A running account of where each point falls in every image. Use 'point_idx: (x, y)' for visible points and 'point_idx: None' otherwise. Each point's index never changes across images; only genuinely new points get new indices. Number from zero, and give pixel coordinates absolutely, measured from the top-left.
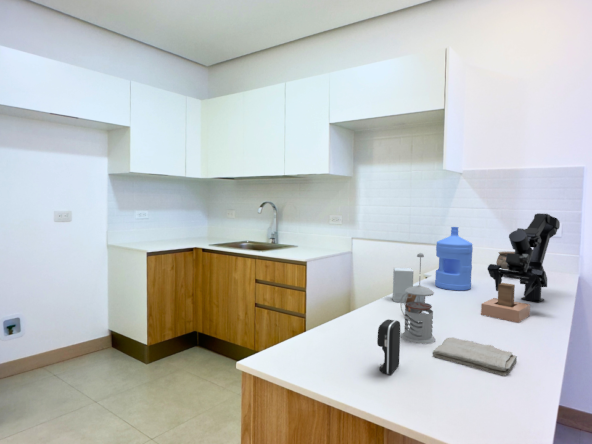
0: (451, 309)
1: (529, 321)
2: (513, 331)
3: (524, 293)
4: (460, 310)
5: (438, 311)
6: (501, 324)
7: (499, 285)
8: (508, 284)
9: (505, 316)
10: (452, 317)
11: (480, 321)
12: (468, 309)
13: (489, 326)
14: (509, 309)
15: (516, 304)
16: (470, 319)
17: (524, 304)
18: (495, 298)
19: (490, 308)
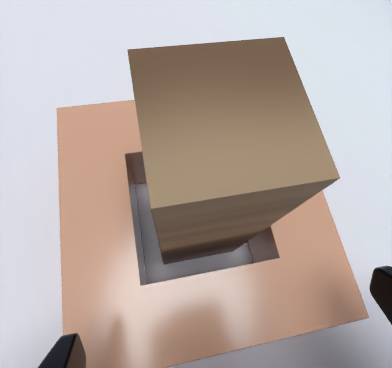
0: (383, 95)
1: (49, 223)
2: (51, 27)
3: (66, 337)
4: (356, 112)
5: (374, 33)
6: (124, 69)
7: (265, 47)
8: (211, 130)
9: None
10: (289, 10)
11: (199, 42)
12: (356, 159)
13: (142, 16)
14: (117, 103)
15: (152, 283)
16: (238, 36)
17: (100, 332)
18: (348, 306)
19: None
